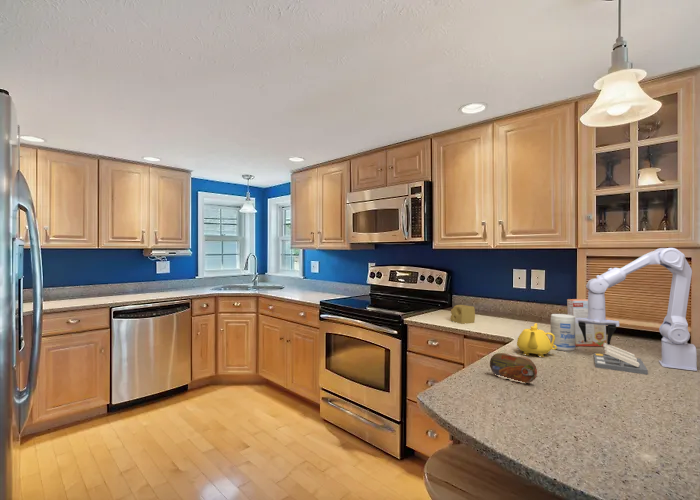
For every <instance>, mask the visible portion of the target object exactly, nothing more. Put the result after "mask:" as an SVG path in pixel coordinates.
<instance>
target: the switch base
mask: <svg viewBox="0 0 700 500" xmlns="http://www.w3.org/2000/svg"><path fill="white" fill-rule="evenodd" d="M635 358H636V359H637V361H636V362H639V364H640V365H639V367H636V366H634V365H632V364H629V363H627V362H624V361H622V360H620V359H617V358H615V357H612V356H610V355H608V354H606V353H596V352H595V353H594V352H593V361H594V365H595V366H594V367H595V368H597V369H604V370H605V369H606V370H612V371H620V372H625V373H634V374H640V375H641V374H642V375H648V374H649V373H648V372H649V369H648V368H647V367H646V365H645V363H644V362H643V359H642V358H637V357H635Z"/></svg>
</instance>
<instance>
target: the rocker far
mask: <svg viewBox="0 0 700 500" xmlns="http://www.w3.org/2000/svg"><path fill="white" fill-rule="evenodd" d="M603 346H604V347H605V346H607V347H610V348H612V349H615V350H617V351H620V352H622V353H625V354H627V355H630V356H632V357H635V358H636V356H635V353H631V352H629V351H627V350H624V349H622V348H620V347H617V346H614V345H612V344H611V343H610V344H607V342H606V343H605V342H604V344H603ZM603 346H602V347H603ZM604 347H603V348H604Z"/></svg>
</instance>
